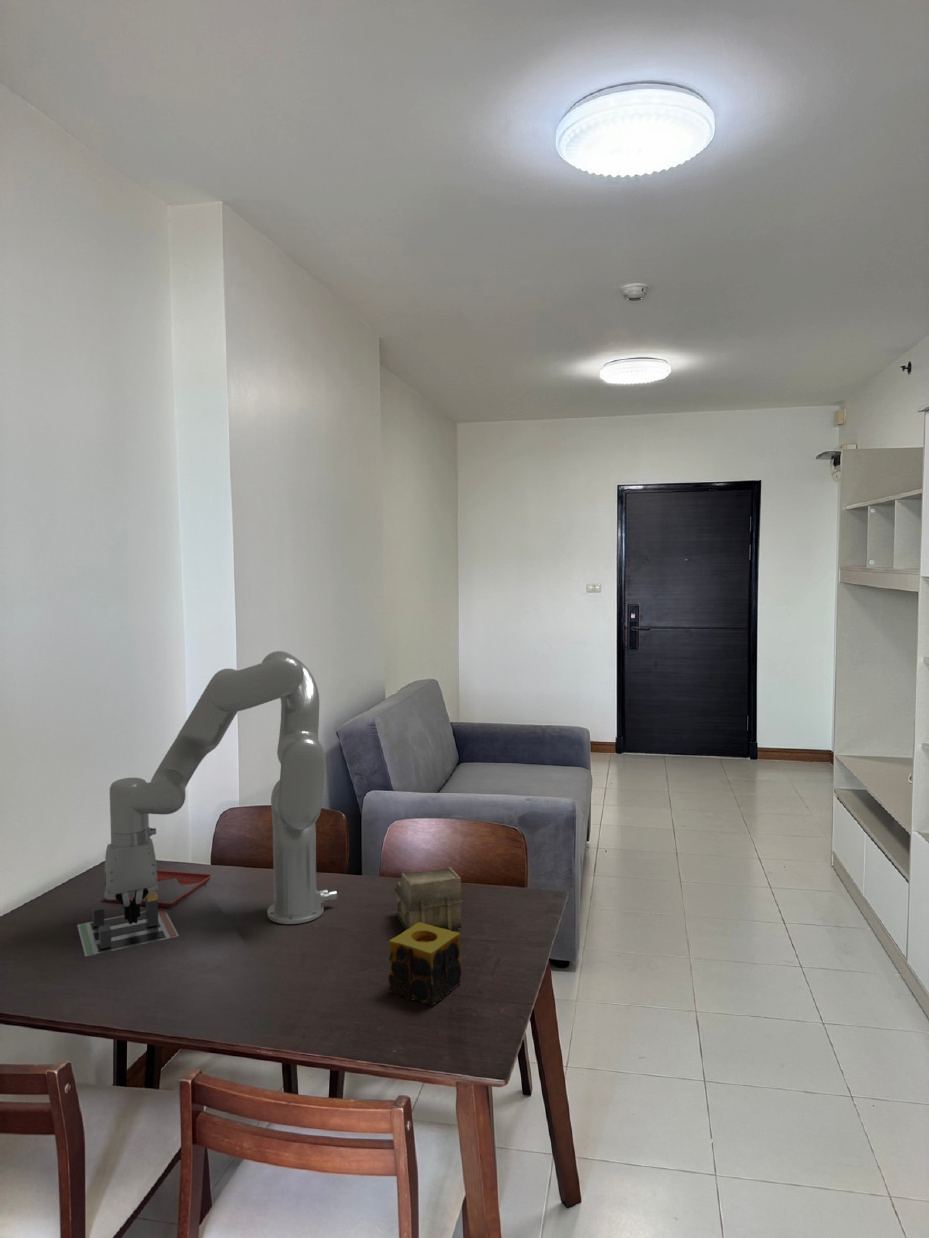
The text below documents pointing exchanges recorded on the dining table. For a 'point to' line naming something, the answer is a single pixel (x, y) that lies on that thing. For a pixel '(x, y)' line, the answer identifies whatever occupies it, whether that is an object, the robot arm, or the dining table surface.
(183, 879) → the red square tray
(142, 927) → the breaker panel
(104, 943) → the breaker
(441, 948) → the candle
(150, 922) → the block
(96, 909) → the breaker
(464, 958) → the dining table surface
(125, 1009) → the dining table surface
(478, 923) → the dining table surface
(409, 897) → the miniature house
